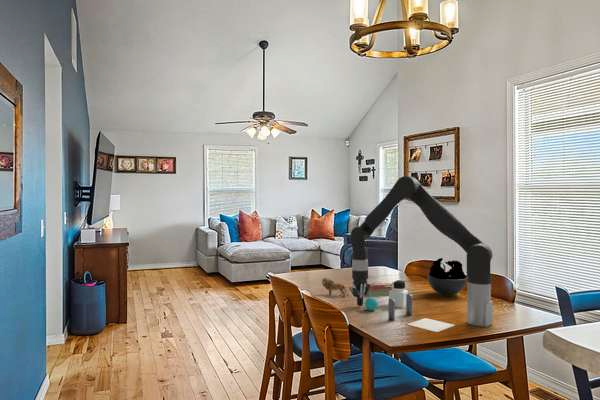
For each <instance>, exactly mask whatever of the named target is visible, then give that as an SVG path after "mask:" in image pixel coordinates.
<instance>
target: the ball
mask: <svg viewBox="0 0 600 400" xmlns="http://www.w3.org/2000/svg"><path fill="white" fill-rule="evenodd" d="M364 307H365V309H366V310H368V311H371V312H373V311H375V310H376V309H377V308H378V307H379V302H378V300H377V299H376V298H375V297H374V296H372V297H368V298H366V299H365V301H364Z"/></svg>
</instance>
